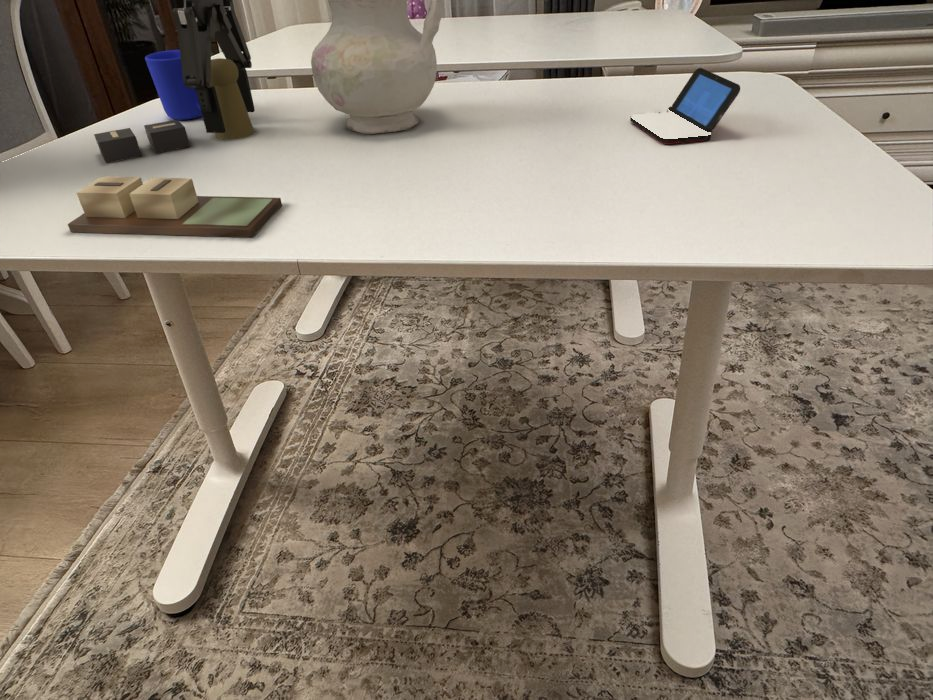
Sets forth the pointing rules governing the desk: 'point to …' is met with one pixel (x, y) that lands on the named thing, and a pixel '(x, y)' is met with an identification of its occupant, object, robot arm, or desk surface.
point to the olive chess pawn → (230, 100)
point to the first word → (126, 144)
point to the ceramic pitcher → (376, 63)
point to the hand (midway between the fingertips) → (232, 121)
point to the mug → (173, 85)
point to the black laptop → (701, 104)
